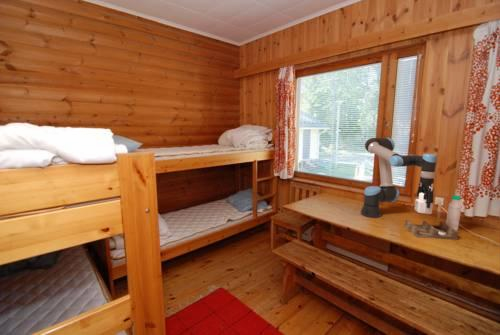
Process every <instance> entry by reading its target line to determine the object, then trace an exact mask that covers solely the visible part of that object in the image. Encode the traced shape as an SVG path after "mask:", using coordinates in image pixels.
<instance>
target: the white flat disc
mask: <svg viewBox="0 0 500 335" xmlns="http://www.w3.org/2000/svg"><path fill="white" fill-rule="evenodd" d="M437 230H438V231H439V232H438V235H441V236H445V235H446V232H445V231H443V230H439V229H437Z"/></svg>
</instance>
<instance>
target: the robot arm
mask: <svg viewBox="0 0 500 335" xmlns="http://www.w3.org/2000/svg"><path fill="white" fill-rule="evenodd" d="M395 147H396V146H395V141H394V140H393V139H392V138H391V137H371V138H369V139H367V140H366V141H365V143H364V149H365V150H366V151H367V152H368V153H370V154H375V155H376V156H378V165H379V177H380V178H379V179H380V185H379V186H377V185H376V186H375V185H371V186H366V187H365V189H364V192H363V193H364V194H363V195H364V196H363V205H362V207H361V209H360V215H362V216H364V217H367V218H372V219H373V218H374V219H376V218H380V217H381V216H382V213H381V209H380V208H381V207H380V203H392V202H396V201H397V200H398V199H399V197H400V190H399V189H398V188H397V187H396V185H395V184H394V183H393V173H392V172H393V171H392V167H397V168H399V167H400V168H402V167H419V168H421V170H420V178H419V183H418V188H417V192H416V197H417V199H419V193H422V192H424V193H425V195H426V202H425V209H424V212H429V211H430V204H431V203H433V204H434V191H435V188H434V187H432V185H433V184H434V183H435V176H436V169H437V167H436V166H437V162H438V155H437V154H434V153H423V154H422V155H419V154H408V155H402V154H399V153H397V152H395V151H394V149H395Z"/></svg>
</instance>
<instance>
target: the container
mask: <svg viewBox="0 0 500 335" xmlns="http://www.w3.org/2000/svg"><path fill="white" fill-rule="evenodd" d="M425 202H426V195H425V193H424V192H422V193H419V199H418V198H416V199H415V202H414V210H415V211H416V212H417V213H419V214H426V215H427V214H428V215H432V214H433V209H434V202H433V203H431V204H430V211H429V212H424V209H425Z"/></svg>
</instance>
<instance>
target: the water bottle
mask: <svg viewBox="0 0 500 335" xmlns="http://www.w3.org/2000/svg"><path fill="white" fill-rule="evenodd" d="M461 198H462V197H461V196H460V195H454V194H453V195H452V196H451V201H450V202H449V203H448V206H447V212H446V219H445V224H447V225H448V226H450V227H451V228H453V229H454V230H456V231H459V225H460V218H461V214H462V211H461V210H462V205H461V202H460V201H461Z"/></svg>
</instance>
